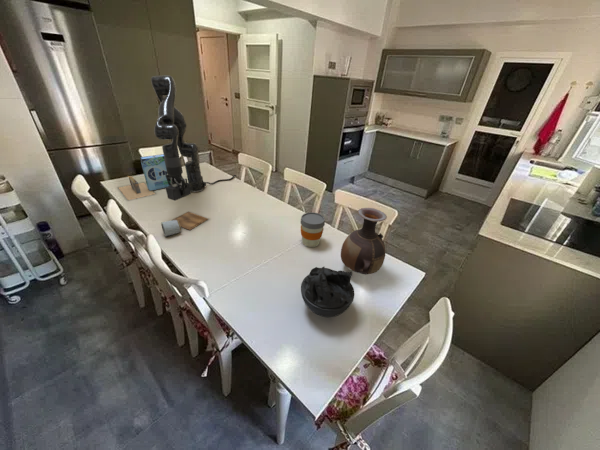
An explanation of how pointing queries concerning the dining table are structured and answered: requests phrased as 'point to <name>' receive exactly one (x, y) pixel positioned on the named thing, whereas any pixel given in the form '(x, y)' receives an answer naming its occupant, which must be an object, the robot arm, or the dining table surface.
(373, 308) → the dining table surface
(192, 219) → the wooden cutting board
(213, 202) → the dining table surface
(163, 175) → the gum box
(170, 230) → the ceramic mug
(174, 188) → the tissue box
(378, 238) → the vase
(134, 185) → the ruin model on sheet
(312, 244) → the reusable coffee cup
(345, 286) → the coal bowl
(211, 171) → the dining table surface
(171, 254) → the dining table surface
